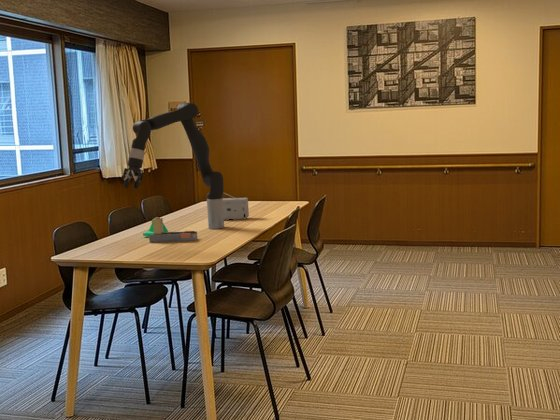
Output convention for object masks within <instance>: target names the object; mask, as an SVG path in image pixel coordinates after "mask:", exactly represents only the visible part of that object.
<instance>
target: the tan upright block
mask: <svg viewBox="0 0 560 420" xmlns="http://www.w3.org/2000/svg"><path fill="white" fill-rule="evenodd" d="M154 218H155V219H154ZM154 218H152V219H153V228H154V234H164V232H163V224H164V221H163V220H164V219H163V217H159V216H156V217H154Z"/></svg>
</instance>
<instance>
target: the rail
mask: <svg viewBox="0 0 560 420" xmlns="http://www.w3.org/2000/svg"><path fill="white" fill-rule="evenodd" d="M148 239H149V243H187V242H189V243H191V242H195V241H197V240H198V231H195V230H185V231H168V232H164V234H154V233H153V234H151V235H149V238H148Z"/></svg>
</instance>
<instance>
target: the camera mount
mask: <svg viewBox="0 0 560 420" xmlns="http://www.w3.org/2000/svg"><path fill="white" fill-rule="evenodd" d="M155 218H156V217H154V218H152V220H151V224H150V227H149V229H148V230H147V231H144V232H143V233H142V234H143V235H142V236H143V237H148V239H149V235H151V234H153V233H154V228H153V219H155ZM163 232H169V230H168V229H167V226H166V225H165V224H164V223H163Z"/></svg>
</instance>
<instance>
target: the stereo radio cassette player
mask: <svg viewBox="0 0 560 420" xmlns="http://www.w3.org/2000/svg"><path fill="white" fill-rule="evenodd" d="M223 194H225V195H227V196H229V198H228V197H227V198H226V197H225V198H224V197H223V213H224V221H226V220H229V219H233V220H246V219H248V218H249V215H250V212H249V211H250V210H249V198H248V197H235V196H232V195H230V194H228V193H226V192H223ZM247 217H248V218H247ZM229 221H230V220H229Z"/></svg>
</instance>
